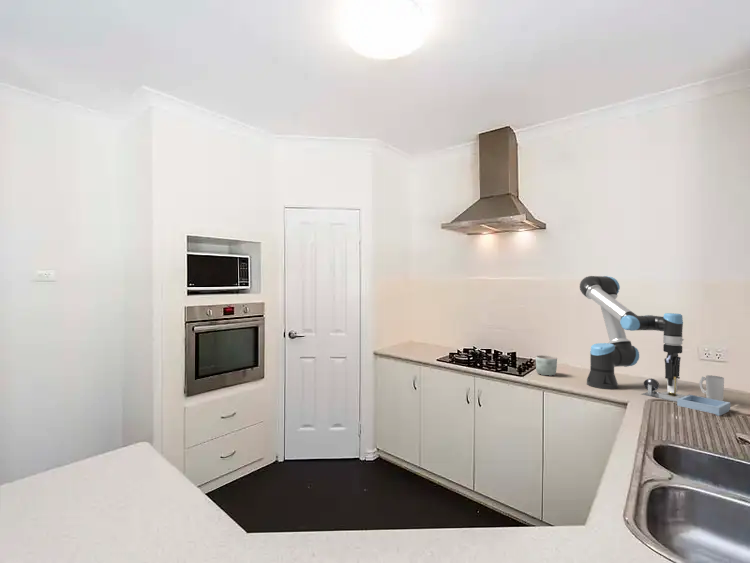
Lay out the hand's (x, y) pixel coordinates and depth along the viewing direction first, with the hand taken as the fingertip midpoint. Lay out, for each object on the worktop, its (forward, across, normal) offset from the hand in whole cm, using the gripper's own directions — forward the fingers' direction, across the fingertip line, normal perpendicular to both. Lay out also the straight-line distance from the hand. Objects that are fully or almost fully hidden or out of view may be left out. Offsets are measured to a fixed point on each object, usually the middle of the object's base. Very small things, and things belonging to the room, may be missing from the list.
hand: (672, 391), depth 194 cm
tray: (+4, -4, -14) cm, 15 cm away
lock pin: (+3, 0, 0) cm, 3 cm away
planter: (+4, -4, +65) cm, 66 cm away
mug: (+4, +17, -10) cm, 20 cm away
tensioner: (+4, 0, +4) cm, 5 cm away
